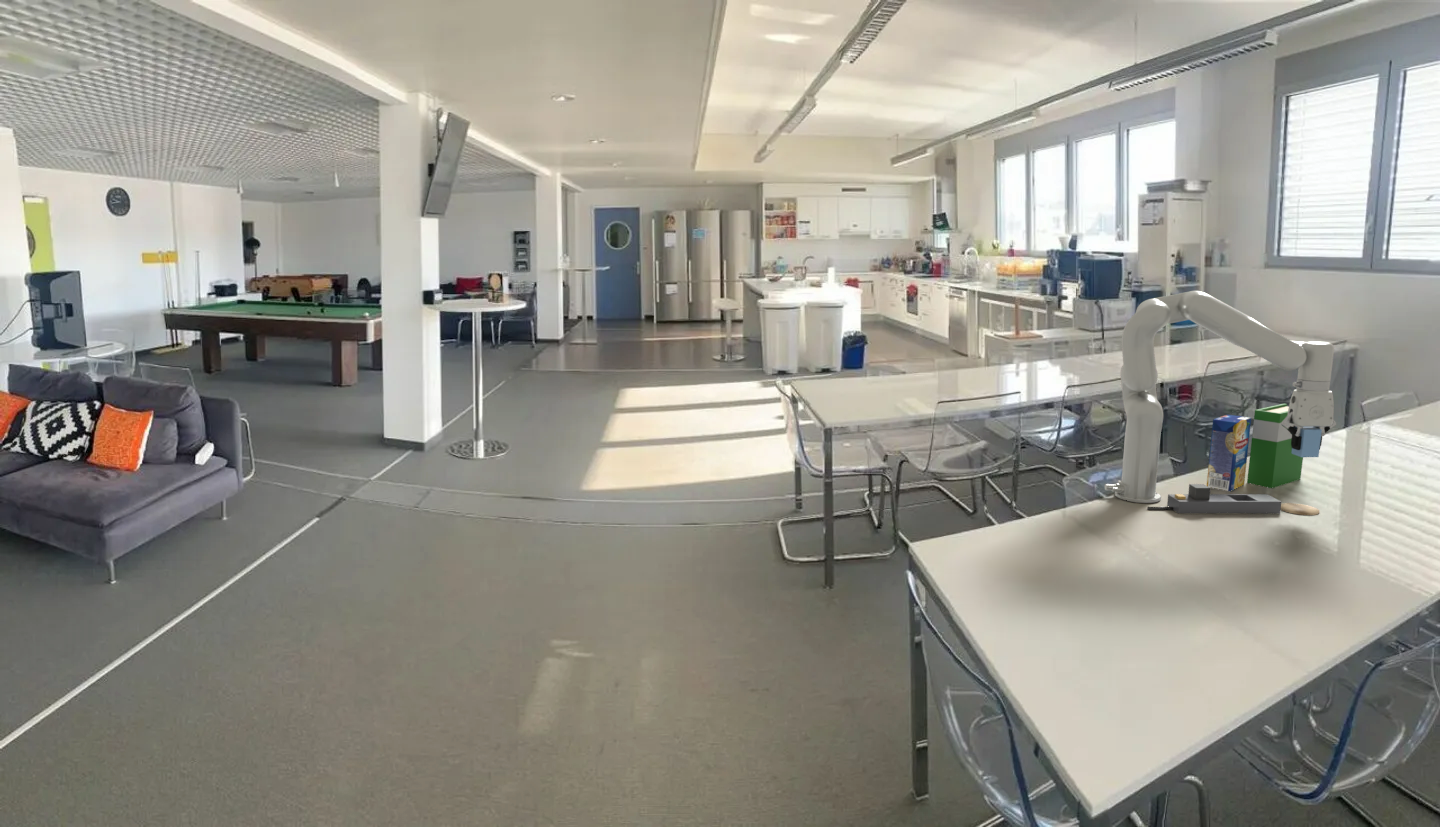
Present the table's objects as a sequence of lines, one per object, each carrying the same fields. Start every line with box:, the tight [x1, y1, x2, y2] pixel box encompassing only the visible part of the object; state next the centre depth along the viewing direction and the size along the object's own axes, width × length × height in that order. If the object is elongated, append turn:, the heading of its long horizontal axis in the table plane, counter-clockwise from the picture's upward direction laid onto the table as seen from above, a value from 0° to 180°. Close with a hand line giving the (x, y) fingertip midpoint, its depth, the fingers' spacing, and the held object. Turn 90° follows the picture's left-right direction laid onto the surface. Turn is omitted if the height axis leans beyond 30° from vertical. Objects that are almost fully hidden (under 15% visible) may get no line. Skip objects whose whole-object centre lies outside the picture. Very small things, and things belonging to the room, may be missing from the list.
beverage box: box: [1206, 414, 1252, 492], centre depth 259 cm, size 7×11×22 cm, turn 128°
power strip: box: [1146, 483, 1282, 515], centre depth 238 cm, size 35×7×7 cm, turn 86°
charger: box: [1292, 427, 1322, 458], centre depth 233 cm, size 5×5×8 cm
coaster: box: [1280, 502, 1321, 516], centre depth 237 cm, size 10×10×1 cm
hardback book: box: [1246, 403, 1304, 489], centre depth 263 cm, size 18×7×24 cm, turn 120°
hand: (1305, 448), depth 233 cm, fingers closed on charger, 4 cm apart
